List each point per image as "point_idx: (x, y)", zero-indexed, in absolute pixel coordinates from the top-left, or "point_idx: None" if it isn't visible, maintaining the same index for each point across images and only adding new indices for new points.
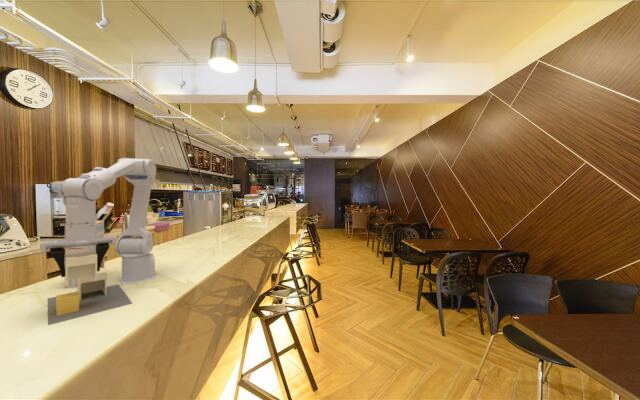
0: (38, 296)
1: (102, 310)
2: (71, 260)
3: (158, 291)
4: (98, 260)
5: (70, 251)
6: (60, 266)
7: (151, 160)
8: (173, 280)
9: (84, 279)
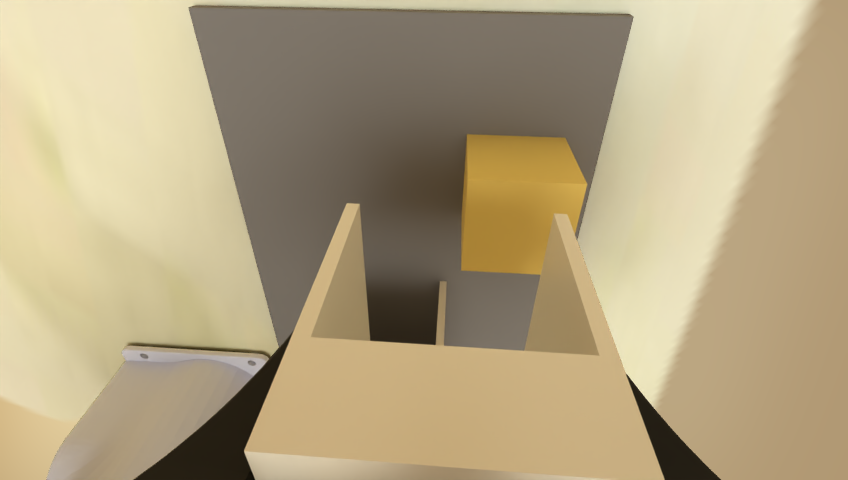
0: None
1: (360, 24)
2: (577, 434)
3: (68, 146)
4: None
5: None
6: (644, 412)
7: None
8: (16, 266)
9: None
